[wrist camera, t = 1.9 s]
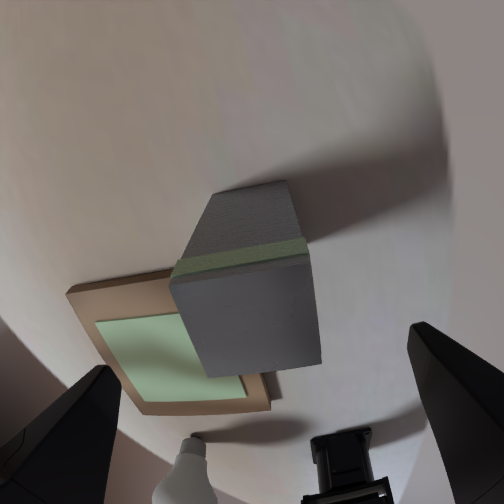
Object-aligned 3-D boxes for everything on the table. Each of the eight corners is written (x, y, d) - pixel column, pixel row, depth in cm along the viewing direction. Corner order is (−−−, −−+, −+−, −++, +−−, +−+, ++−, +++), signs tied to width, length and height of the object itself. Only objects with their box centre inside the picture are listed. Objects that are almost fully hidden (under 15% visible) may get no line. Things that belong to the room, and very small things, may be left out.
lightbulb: (217, 424, 27) (205, 526, 17) (229, 450, 29) (221, 538, 20) (158, 422, 27) (136, 516, 17) (176, 448, 30) (161, 531, 20)
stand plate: (270, 401, 25) (271, 412, 24) (145, 407, 26) (142, 416, 25) (229, 259, 18) (227, 269, 17) (71, 286, 20) (63, 295, 19)
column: (298, 247, 18) (323, 364, 10) (229, 259, 19) (207, 379, 10) (286, 178, 16) (311, 260, 8) (211, 194, 17) (166, 284, 9)
